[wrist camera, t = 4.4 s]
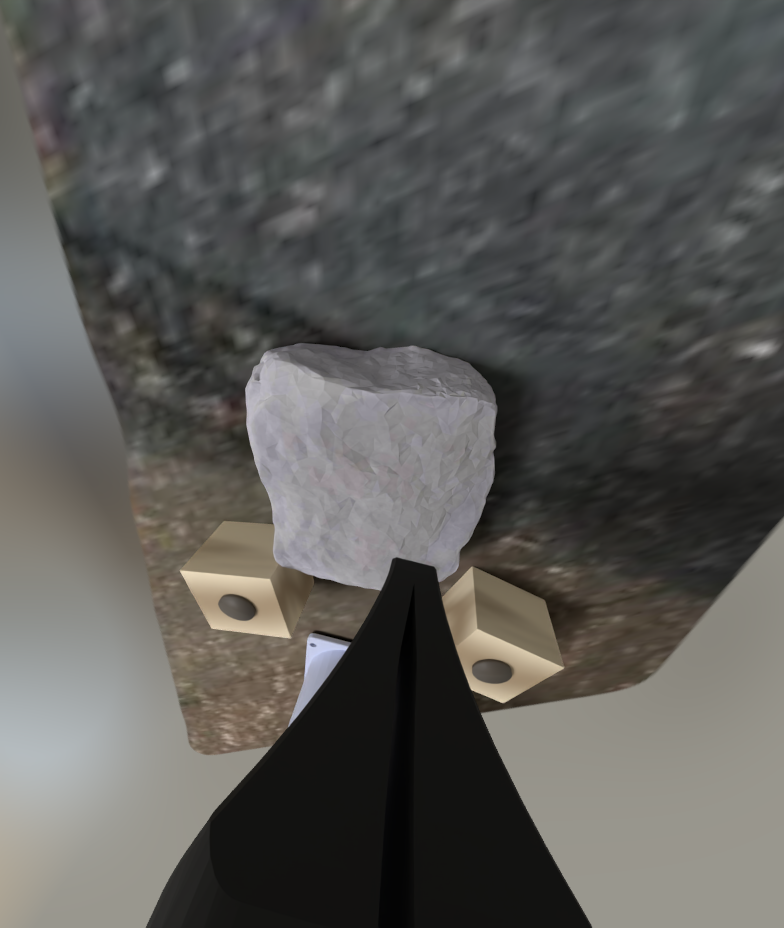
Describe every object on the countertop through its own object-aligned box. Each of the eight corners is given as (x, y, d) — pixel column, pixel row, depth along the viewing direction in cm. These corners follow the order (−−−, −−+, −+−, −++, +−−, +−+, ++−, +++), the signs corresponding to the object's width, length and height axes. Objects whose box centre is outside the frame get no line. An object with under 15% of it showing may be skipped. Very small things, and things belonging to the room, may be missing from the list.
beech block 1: (315, 581, 22) (289, 641, 18) (247, 574, 23) (209, 631, 19) (301, 524, 19) (267, 582, 16) (225, 519, 20) (177, 573, 16)
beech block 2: (494, 636, 22) (503, 707, 18) (430, 607, 21) (426, 674, 18) (544, 598, 19) (565, 672, 16) (472, 564, 19) (477, 632, 15)
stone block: (491, 340, 14) (259, 331, 14) (538, 376, 10) (212, 365, 10) (451, 532, 21) (293, 533, 20) (470, 600, 17) (274, 603, 16)
